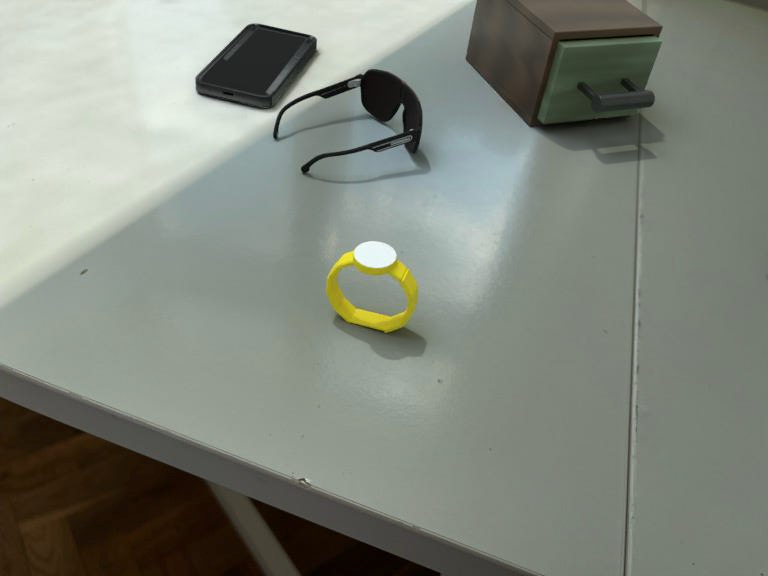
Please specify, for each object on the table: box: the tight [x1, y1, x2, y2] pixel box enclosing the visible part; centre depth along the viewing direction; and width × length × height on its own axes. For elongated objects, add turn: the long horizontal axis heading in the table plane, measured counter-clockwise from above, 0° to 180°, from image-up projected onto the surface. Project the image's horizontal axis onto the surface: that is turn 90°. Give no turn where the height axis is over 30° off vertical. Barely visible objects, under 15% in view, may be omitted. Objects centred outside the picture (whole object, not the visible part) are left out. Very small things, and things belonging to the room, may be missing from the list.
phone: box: [194, 23, 318, 109], centre depth 78 cm, size 8×1×15 cm
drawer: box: [537, 35, 663, 125], centre depth 78 cm, size 18×11×8 cm, turn 21°
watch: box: [325, 240, 419, 334], centre depth 51 cm, size 6×3×6 cm, turn 72°
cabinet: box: [465, 0, 664, 127], centre depth 80 cm, size 15×12×10 cm
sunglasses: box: [272, 68, 424, 174], centre depth 69 cm, size 10×12×5 cm
